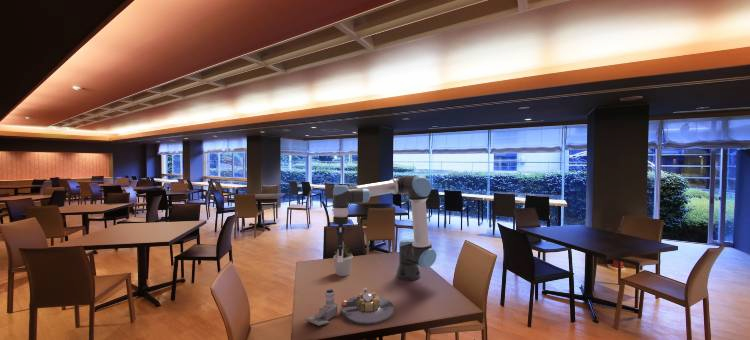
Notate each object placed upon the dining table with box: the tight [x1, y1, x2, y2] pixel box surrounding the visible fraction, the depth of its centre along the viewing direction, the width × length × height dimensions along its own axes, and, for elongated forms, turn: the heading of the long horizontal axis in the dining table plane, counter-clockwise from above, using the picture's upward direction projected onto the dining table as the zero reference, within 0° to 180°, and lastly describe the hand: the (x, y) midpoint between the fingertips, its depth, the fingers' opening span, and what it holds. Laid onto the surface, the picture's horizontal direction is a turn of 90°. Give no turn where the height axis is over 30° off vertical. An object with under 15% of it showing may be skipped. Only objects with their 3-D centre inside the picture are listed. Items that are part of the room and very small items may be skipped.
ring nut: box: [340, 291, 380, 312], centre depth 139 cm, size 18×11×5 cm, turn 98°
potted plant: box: [332, 244, 354, 277], centre depth 189 cm, size 13×14×20 cm
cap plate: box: [341, 287, 395, 326], centre depth 140 cm, size 25×25×8 cm
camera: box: [304, 288, 339, 326], centre depth 132 cm, size 9×12×15 cm
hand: (340, 257), depth 146 cm, fingers open, 13 cm apart
